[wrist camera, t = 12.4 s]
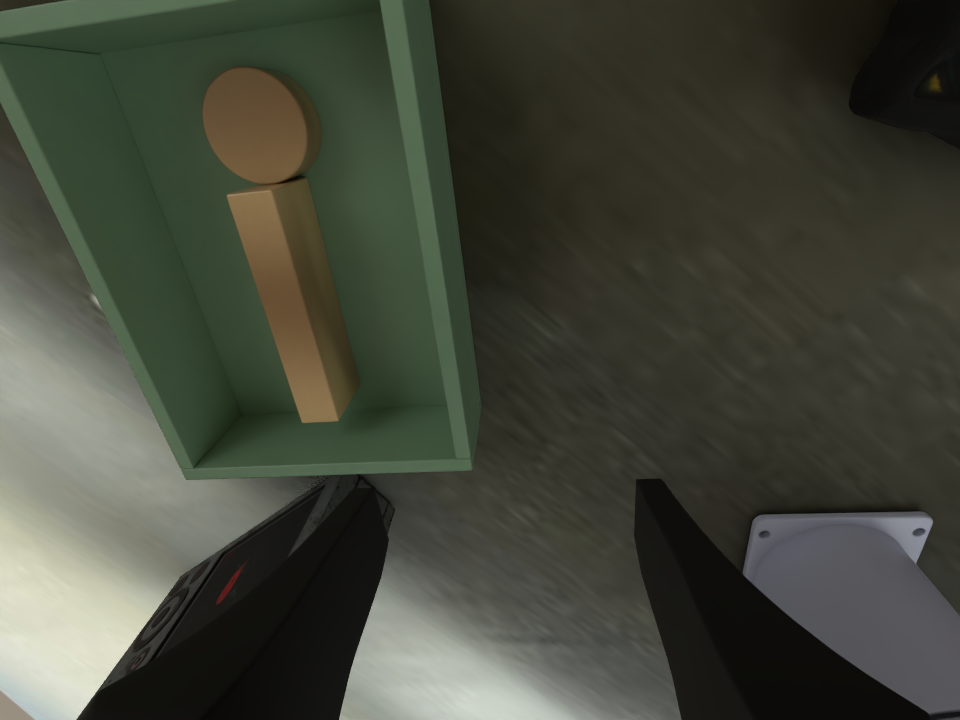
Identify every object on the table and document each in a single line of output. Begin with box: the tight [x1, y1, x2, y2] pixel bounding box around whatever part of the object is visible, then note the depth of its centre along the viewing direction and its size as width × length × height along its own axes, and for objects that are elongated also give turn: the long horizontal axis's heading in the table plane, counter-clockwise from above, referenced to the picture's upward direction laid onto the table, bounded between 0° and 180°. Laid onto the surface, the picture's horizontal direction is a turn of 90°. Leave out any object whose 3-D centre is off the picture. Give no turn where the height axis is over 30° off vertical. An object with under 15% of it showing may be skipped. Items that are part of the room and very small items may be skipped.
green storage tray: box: [0, 0, 482, 480], centre depth 18 cm, size 16×12×4 cm
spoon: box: [202, 66, 360, 423], centre depth 18 cm, size 13×4×3 cm, turn 6°
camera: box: [77, 474, 395, 720], centre depth 24 cm, size 16×4×10 cm, turn 129°
